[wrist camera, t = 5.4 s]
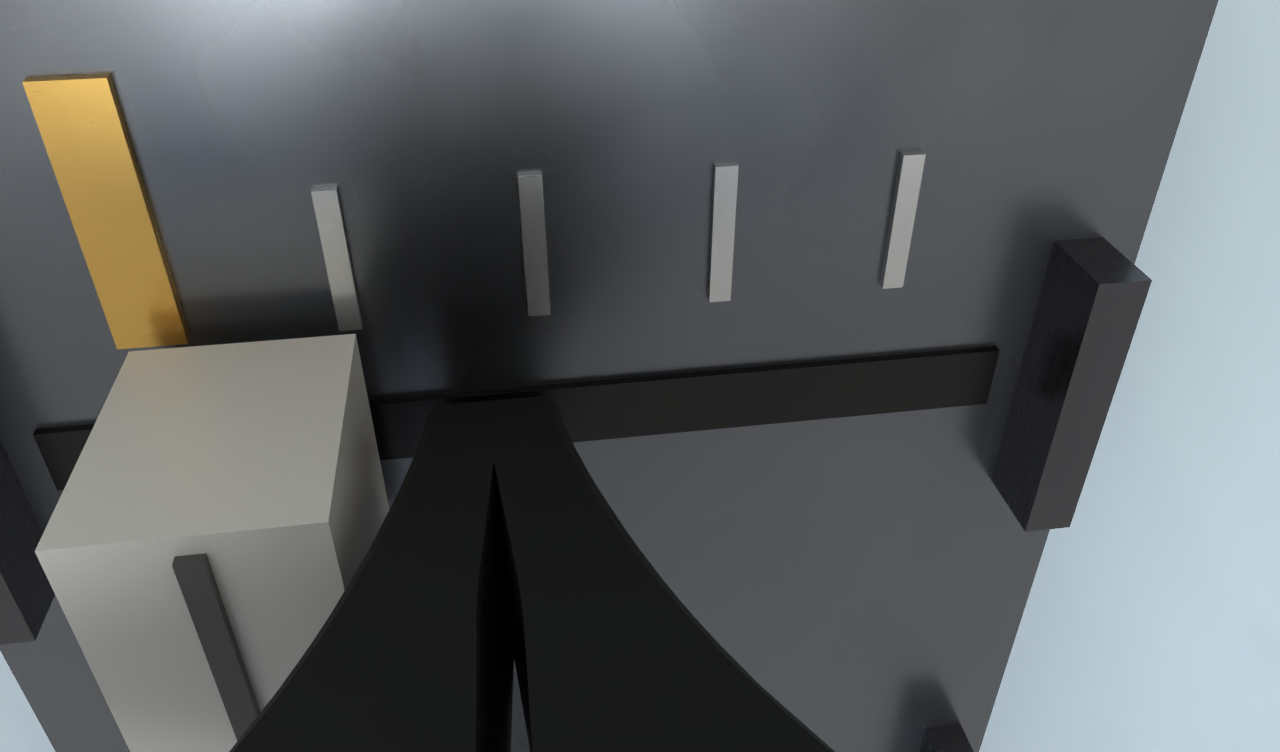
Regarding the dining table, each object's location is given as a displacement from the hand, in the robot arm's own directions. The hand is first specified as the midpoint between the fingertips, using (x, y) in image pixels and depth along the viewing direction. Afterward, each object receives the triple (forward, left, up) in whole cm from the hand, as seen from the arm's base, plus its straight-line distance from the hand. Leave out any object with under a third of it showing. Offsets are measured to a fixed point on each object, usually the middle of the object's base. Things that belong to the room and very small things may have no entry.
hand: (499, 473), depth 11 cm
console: (-4, -1, -3) cm, 5 cm away
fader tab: (0, +2, -1) cm, 2 cm away
